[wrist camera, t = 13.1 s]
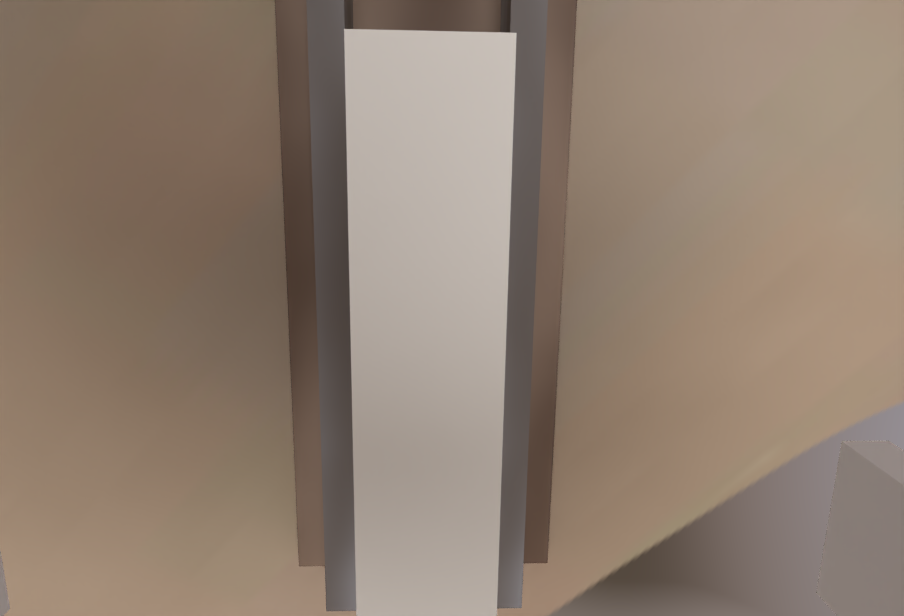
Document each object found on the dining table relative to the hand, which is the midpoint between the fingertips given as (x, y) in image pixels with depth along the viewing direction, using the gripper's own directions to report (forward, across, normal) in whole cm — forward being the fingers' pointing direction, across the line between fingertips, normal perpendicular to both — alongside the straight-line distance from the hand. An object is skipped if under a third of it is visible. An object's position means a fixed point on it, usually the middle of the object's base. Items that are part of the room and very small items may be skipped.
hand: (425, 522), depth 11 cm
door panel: (+17, 0, -1) cm, 17 cm away
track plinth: (+18, 0, -1) cm, 18 cm away
